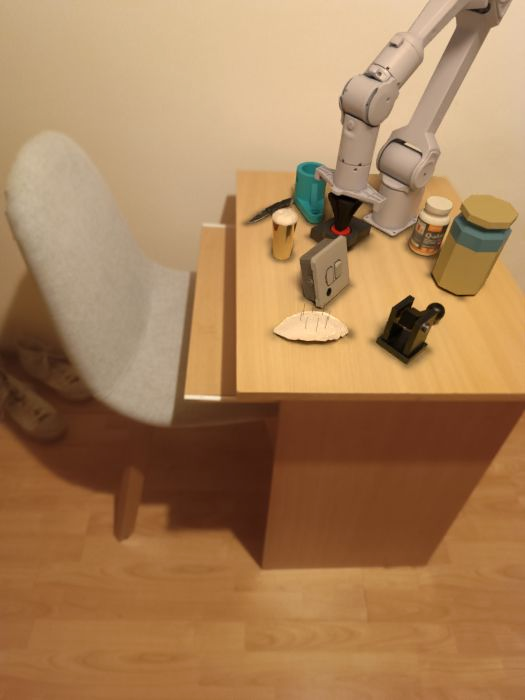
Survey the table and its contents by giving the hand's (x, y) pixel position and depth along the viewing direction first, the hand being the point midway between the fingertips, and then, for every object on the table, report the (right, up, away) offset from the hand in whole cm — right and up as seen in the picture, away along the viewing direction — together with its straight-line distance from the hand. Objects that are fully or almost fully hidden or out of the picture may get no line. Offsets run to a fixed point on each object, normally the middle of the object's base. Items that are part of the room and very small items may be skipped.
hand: (340, 228), depth 87 cm
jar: (+21, -11, -2) cm, 23 cm away
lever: (+10, -19, -14) cm, 25 cm away
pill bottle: (+17, -3, +4) cm, 18 cm away
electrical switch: (-4, -13, -6) cm, 15 cm away
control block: (+1, -1, +5) cm, 5 cm away
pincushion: (-7, -20, -13) cm, 25 cm away
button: (0, -1, +1) cm, 2 cm away
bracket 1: (-4, +7, +12) cm, 15 cm away
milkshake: (-11, -5, +1) cm, 12 cm away
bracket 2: (+7, -22, -14) cm, 27 cm away
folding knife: (-12, +5, +9) cm, 16 cm away
